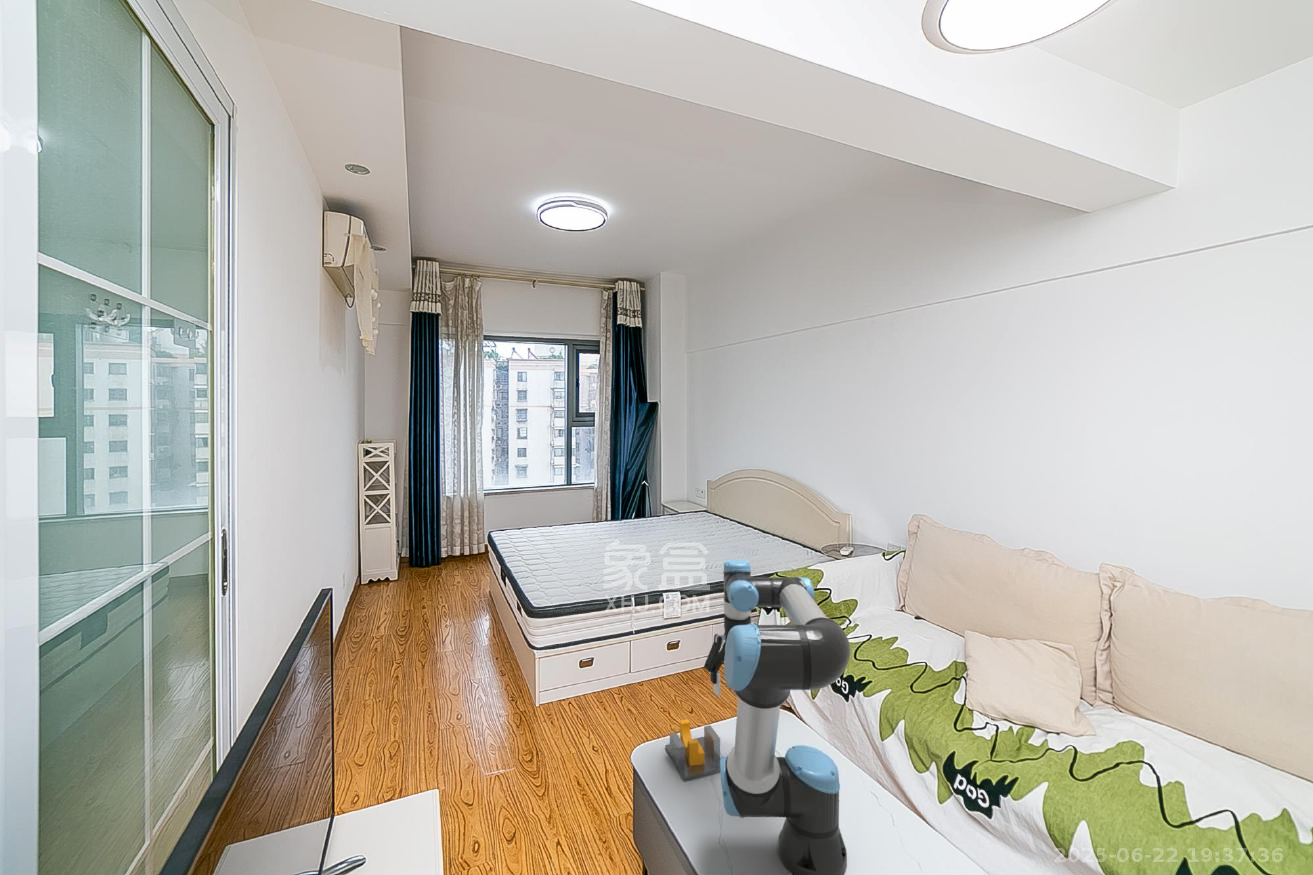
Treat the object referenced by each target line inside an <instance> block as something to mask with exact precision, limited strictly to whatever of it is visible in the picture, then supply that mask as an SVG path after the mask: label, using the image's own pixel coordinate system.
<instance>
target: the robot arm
mask: <svg viewBox="0 0 1313 875" xmlns="http://www.w3.org/2000/svg"><path fill="white" fill-rule="evenodd" d="M751 573H752V571H751V564H750V562H749V561H747V560H746V559H740V558H737V559H736V558H732V559H728V560H725V562H724V563H723V572H722V574H723V614H724V616H723V628H724V633H723V634H721V635H720V634H718V633H716V634H714V636H713V643H712V645H711V648H710V650H709V653H708V655H707V658H706V660H705V663H704V666H703V668H704V669H705V670H706V671H707V672H709V673H710V682H711V683H712V685H713V686H712V687H713V688H712V690H713V693H714V694H715V696H717V697H721V672H720V671H719V670H720V669H721V667H722V665H723V668H724V669H723V671H724V681H725V684H726V687H728V688H729V689H730V690H733V692H734V694H735V696H736V697H737V705H736V706H737V709H736V723H735V726H736V727H735V737H734V738H735V740H734V746H733V747H732V749H730V751H729V753H728V755H725V756H720V773H719V774H720V782H721V783H720V784H721V791H722V800H723V806H724V811H725V812H726V814H727V815H729V816H730V817H739V818H740V819H741V818H742V819H744V818H784V822H783V825H782V829H781V830H780V832H779V836H778V840H777V841H778V842H777V843H778V844H777V845H778V847H777V848H778V851H777V852H778V856H779V859H780V861H781V863H782V864H783V866H784V867H785V869H787V871H789V872H790V873H792V875H844V874H845V872H846V869H847V866H848V853H847V848H846V844H845V841H844V839H843V836H842V835H843V834H842V833H841V829H840V827H839V826H840V790H841V784H840V774H839V770H838V766H837V765H836V762H835V761H834V760H833V759H832V758H831V757H830V756H829V755H828V754H826V753H825V752H823V751H822V750H820V749H818V748H816V747H812V746H809V745H803V744H802V745H801V744H800V745H799V744H798V745H793V746H792V747H789V748H788V749H787V750H786V753H785V756H776V755H775V753H776V746H777V738H778V729H779V722H780V721H779V719H780V712H781V706H782V705H784V703H786V701H787V700H788V699H789V697H790V695H791V691H815V690H820V689H824V688H826V687H829V686H830V685H832V684H834V683H835V682H836V681H837V680H838V679H840V677H841V676H842V675H843V674H844V672H845V671H846V669H847V666H848V664H849V662H850V658H851V645H850V641H849V638H848V637H847V634H846V633H845V631H844V630H843V628H842V627H841V625H839V623H838V622H836V621H835V620H833V619H832V618H829V617H827V616H826V614H825V613H824V612H823V610H822V609H821V608H820V607H819V605H818V604H817V602H816V601H815V589H814V585H813V581H812V580H811V579H810V578H809V577H803V576H802V577H800V576H793V577H792V576H791V577H790V576H788V577H787V576H786V577H785V576H784V577H783V576H781V577H778V576H777V577H775V576H773V577H764V576H763V577H762V576H761V577H755V576H754V577H752V576H751ZM755 608H782V609H783V611H784V613H785V615H786V617H787V618H788V621H789V622H790V624H755V623H752V618H751V614H752V610H754V609H755Z"/></svg>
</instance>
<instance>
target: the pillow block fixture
mask: <svg viewBox="0 0 1313 875" xmlns="http://www.w3.org/2000/svg"><path fill="white" fill-rule="evenodd" d="M703 727H704V728H703V732H704V733H703V736H700V737H695V738H694V739H697V741H698V742H699V744H700V745H701V746H702V749H703V751H704V758H705V764H700V765H692V766H690V765H689V762H688V760H687V757H686V755H685V746H684V744H683V743H682V741H681V739H680V735H678V733H677V732H673V733H669V744H665V746H664V749H665V750H666V753H667V754H668V756H669V757H670V760H671V761H672V763H673V764H674V767H675V768H676V769H677V771H678V773H679V775H680V777H681V778H682V780H683V782H687V781H692V780H695V779H699V778H703V777H707V776H712V775H716V774H720V759H721V737H720V736H719V735H718V733H717V732H716V731H715V729H714V728H713V726H711V724H710V725H709V724H708V725H705V726H703Z"/></svg>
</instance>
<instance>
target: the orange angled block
mask: <svg viewBox="0 0 1313 875" xmlns="http://www.w3.org/2000/svg"><path fill="white" fill-rule="evenodd" d="M691 733H692V732H691V723H690V720H689V719H680V720H679V738H680V739H681V741H682V743H683V744H684V746H685V755H686V757H687V760H688V762H689V765H690V766H692V765H700V764H705V758H704V751H703V749H702V746H701V745H700V744H699V742H698V741H697V739H695V738H692V734H691Z"/></svg>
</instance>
